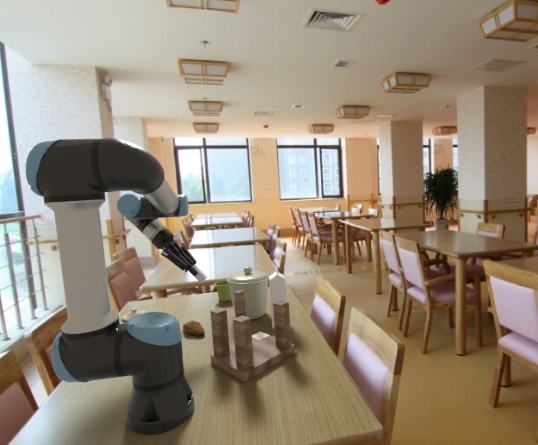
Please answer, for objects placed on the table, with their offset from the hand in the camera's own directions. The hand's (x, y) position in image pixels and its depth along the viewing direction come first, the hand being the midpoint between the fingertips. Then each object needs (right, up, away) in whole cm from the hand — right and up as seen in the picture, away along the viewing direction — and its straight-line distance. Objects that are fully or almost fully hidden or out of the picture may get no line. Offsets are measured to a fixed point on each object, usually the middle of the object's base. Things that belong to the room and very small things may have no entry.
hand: (204, 280), depth 112 cm
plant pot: (+1, -18, +45) cm, 48 cm away
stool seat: (+18, -22, -14) cm, 32 cm away
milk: (+27, -19, +10) cm, 35 cm away
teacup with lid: (-25, -23, +6) cm, 34 cm away
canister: (+15, -19, +22) cm, 33 cm away
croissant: (-6, -22, +8) cm, 24 cm away
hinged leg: (+14, -18, -6) cm, 24 cm away
